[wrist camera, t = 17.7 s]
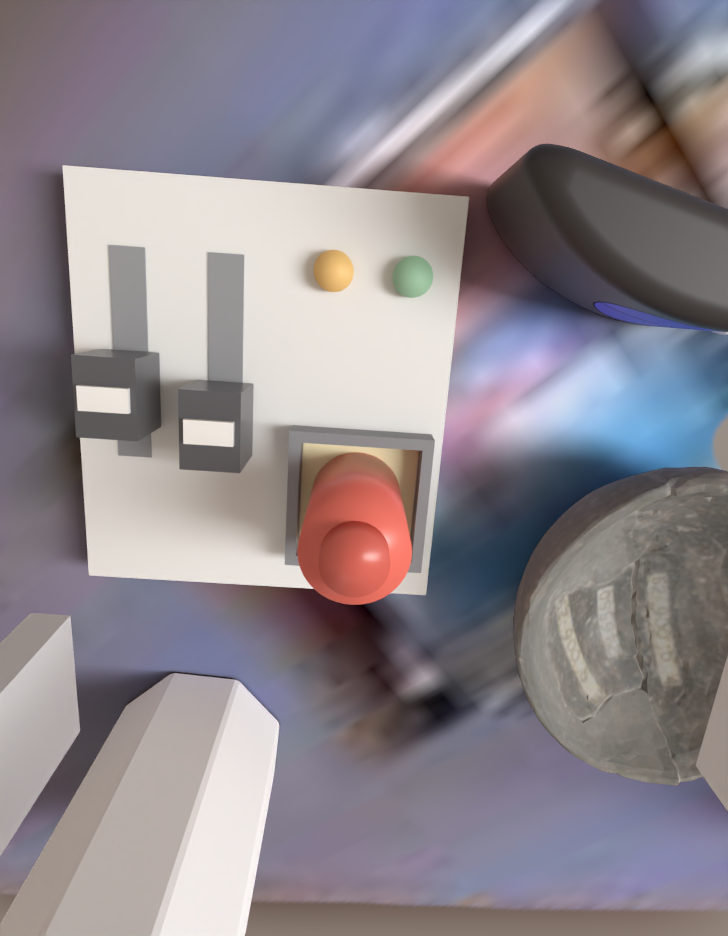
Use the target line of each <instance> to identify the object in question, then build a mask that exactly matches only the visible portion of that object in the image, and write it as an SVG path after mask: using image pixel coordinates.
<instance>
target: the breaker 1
mask: <svg viewBox="0 0 728 936" xmlns="http://www.w3.org/2000/svg"><path fill="white" fill-rule="evenodd" d="M71 368H72V383H73V398H74V413H75V428H76V437H77V438H92V439H108V440H123V441H139V440H141V439H143V438H144V437H146V436H147V435H149V434H151V433H152V432H154V431H155V430H157V429H158V428H160V427H161V400H160V361H159V353H155V352H141V351H126V350H112V349H98V350H93V351H88V352H82V353H77V354H71Z"/></svg>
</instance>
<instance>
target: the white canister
mask: <svg viewBox="0 0 728 936" xmlns="http://www.w3.org/2000/svg"><path fill="white" fill-rule="evenodd" d="M278 734H279V723H278V721H277V720H276V719H275V718H274V717H273V716H272V715H271V714H270V713H269V712H268V711H267V710H266V709H265V708H264V707H263V706H262V705H261V704H260V702H259V701H258V700H257V699H256V698H255V697H254V696H253V695H252V694H251V693H250V692H249V691H248V690H247V689H246V688H245V687H244V686H243V685H242V684H241V683H240V682H239V681H237V680H234V679H225V678H215V677H206V676H197V675H188V674H179V673H173V674H170V675H168V676H167V677H166V678H164V679H163V680H161V681H160V682H159V683H157V684H156V685H154V686H153V687H152V688H150V689H149V690H147V691H146V692H145V693H143V694H142V695H140V696H139V697H138V698H136V699H135V700H133V701H132V702H131V703H129V704H128V705H126V707H125V709H124V710H123V712H122V714H121V715H120V717H119V719H118V721H117V722H116V724H115V726H114V728H113V729H112V731H111V733H110V735H109V736H108V738H107V740H106V741H105V743H104V745H103V747H102V748H101V750H100V752H99V754H98V755H97V757H96V759H95V761H94V762H93V764H92V766H91V767H90V769H89V771H88V773H87V774H86V776H85V778H84V780H83V781H82V783H81V785H80V787H79V788H78V790H77V792H76V794H75V795H74V797H73V799H72V800H71V802H70V804H69V806H68V807H67V809H66V811H65V813H64V814H63V816H62V818H61V820H60V821H59V823H58V825H57V826H56V828H55V830H54V832H53V833H52V835H51V837H50V839H49V840H48V842H47V844H46V846H45V847H44V849H43V851H42V852H41V854H40V856H39V858H38V859H37V861H36V863H35V865H34V866H33V868H32V870H31V872H30V873H29V875H28V877H27V878H26V880H25V882H24V884H23V885H22V887H21V889H20V891H19V892H18V894H17V896H16V898H15V899H14V901H13V903H12V904H11V906H10V908H9V910H8V912H7V913H6V915H5V917H4V919H3V920H2V922H1V924H0V936H245V932H246V926H247V920H248V915H249V909H250V904H251V899H252V893H253V888H254V882H255V876H256V871H257V865H258V860H259V854H260V849H261V843H262V838H263V832H264V827H265V821H266V816H267V810H268V805H269V799H270V793H271V788H272V782H273V777H274V770H275V761H276V752H277V743H278Z"/></svg>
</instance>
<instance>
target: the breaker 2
mask: <svg viewBox="0 0 728 936" xmlns="http://www.w3.org/2000/svg"><path fill="white" fill-rule="evenodd" d="M253 388H254V384H252V383H238V382H223V381H208V380H196V381H194V382H192V383H190V384H188V385H186V386H184V387H181V388H179V389H178V418H179V469H182V470H198V471H213V472H229V473H240V472H241V471H242V470H243V468H244V467H245V465H246V464H247V462H248V461H249V459H250V458H251V457H252V445H253Z"/></svg>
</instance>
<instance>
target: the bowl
mask: <svg viewBox="0 0 728 936" xmlns="http://www.w3.org/2000/svg"><path fill="white" fill-rule="evenodd" d="M513 635H514V648H515V656H516V663H517V668H518V673H519V677H520V680H521V683H522V686H523V689H524V692H525V695H526V697H527V699H528V701H529V703H530V705H531V707H532V709H533V711H534V712H535V714H536V716H537V718H538V719H539V721H540V722H541V723H542V725H543V726H544V727H545V729H546V730H547V731H548V732H549V733H550V734H551V735H552V736H553V737H554V738H555V739H556V740H557V741H558V742H559V743H560V744H561V745H562V746H563V747H564V748H565V749H566V750H567V751H569V752H570V753H571V754H572V755H574V756H575V757H577V758H579V759H581V760H582V761H584V762H586V763H588V764H590V765H591V766H593V767H595V768H597V769H599V770H602V771H605V772H608V773H616V774H618V775H620V776H623V777H626V778H631V779H635V780H639V781H643V782H648V783H657V784H667V785H677V786H678V784H679V783H680V782H685V781H692V780H695V779H697V778H699V777H703V775H702V774H701V773H700V771H699V770H698V768H697V767H696V763H697V759H698V756H699V752H700V749H701V745H702V742H703V738H704V735H705V732H706V728H707V725H708V721H709V718H710V714H711V711H712V707H713V704H714V701H715V697H716V694H717V690H718V687H719V683H720V680H721V677H722V673H723V670H724V666H725V663H726V659H727V656H728V472H727V471H723V470H719V469H714V468H709V467H685V468H662V469H658V470H653V471H648V472H645V473H641V474H637V475H633V476H630V477H627V478H624V479H621V480H618V481H615V482H612V483H609V484H607V485H605V486H602V487H600V488H598V489H596V490H594V491H592V492H590V493H589V494H587V495H585V496H584V497H583V498H581V499H580V500H579V501H577V502H576V503H575V504H574V505H572V506H571V507H570V508H569V509H568V510H567V511H565V512H564V513H563V514H562V515H561V516H560V517H559V518H558V520H557V521H556V522H555V523H554V524H553V525H552V526H551V527H550V528H549V529H548V531H547V532H546V533H545V534H544V536H543V537H542V539H541V540H540V542H539V543H538V545H537V546H536V548H535V549H534V551H533V553H532V555H531V557H530V559H529V561H528V563H527V566H526V568H525V571H524V573H523V576H522V579H521V582H520V584H519V587H518V591H517V595H516V603H515V610H514V618H513Z"/></svg>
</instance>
